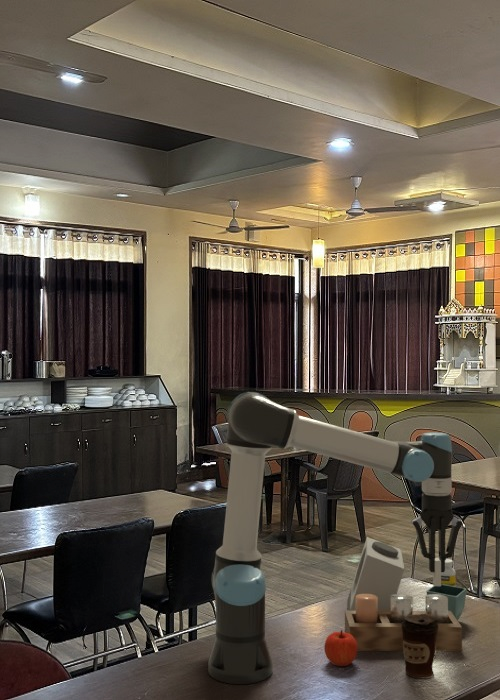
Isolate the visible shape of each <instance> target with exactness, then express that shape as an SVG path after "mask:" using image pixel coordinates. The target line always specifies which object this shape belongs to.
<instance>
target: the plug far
mask: <svg viewBox="0 0 500 700" xmlns="http://www.w3.org/2000/svg"><path fill="white" fill-rule="evenodd" d="M425 611H426V615H427V616H431V617H433V618H435V619H436V621H435V623H437V624H448V597H446V596H444V595H440V594H429V595H427V594H426V595H425Z"/></svg>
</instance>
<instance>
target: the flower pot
mask: <svg viewBox="0 0 500 700" xmlns="http://www.w3.org/2000/svg"><path fill="white" fill-rule="evenodd" d="M429 594H440V595H444V596H446V597H448V611H451V612H452V614H453V615H454V617H455V618H456V619H457V621H458V622H459V619H460V618H461V616H462V614H463V611H464V610H465V604H466V598H467V587H466V588H465V587H460V586H456V587H455V586H449V585H444V584H441V586H435V585H434V584H433V586H430V587H429V588H428V589H427V590H426V595H429Z"/></svg>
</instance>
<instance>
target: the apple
mask: <svg viewBox="0 0 500 700" xmlns="http://www.w3.org/2000/svg"><path fill="white" fill-rule="evenodd" d="M323 647H324V654H325V656H326V658H327V659H328V661H329V662H330V663H331V664H332V665H334V666H336V667H346V666H348V665H350V664H352V663H353V662H354V660H355V658H356V657H357V654H358V651H359V650H358V646H357V642H356V640H355V639H354V637H353V636H352V635H351V634H349V633H345V631H343V630H342V629H341V630H340V631H334V632H332V633H330V634H329V635H328V636H327V637H326V640H325V642H324V646H323Z"/></svg>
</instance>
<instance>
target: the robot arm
mask: <svg viewBox="0 0 500 700" xmlns="http://www.w3.org/2000/svg"><path fill="white" fill-rule="evenodd" d="M226 417H227V422H228V423H227V434H226V442H225V443H226V446H227V447H228V448H229V450H230V451H231V455H230V465H229V475H228V476H229V477H228V485H227V495H226V497H227V498H226V506H225V507H226V508H225V518H224V528H223V529H224V530H223V539H222V544H221V546H220V547H219V548H218V549H217V550H215V558H214V560H215V561H214V568H213V571H212V573H211V586H212V590H213V593H214V594H213V595H214V601H215V640H214V641H213V642H214V643H213V646H212V649H211V652H210V655H209V659H208V663H207V664H208V668H207V670H208V675H209V676H210V677H211V678H212V679H214V680H216V681H219V682H222V683H226V684H232V685H247V684H254V683H258V682H261V681H262V682H263V681H264V680H267V679H268V678H269V677H270V676H272V673H273V671H274V669H273V667H274V666H273V658H272V656H271V652H270V649H269V646H268V642H267V639H266V591H267V583H266V578H265V574H264V573H263V572H262V570H261V567H262V558H263V555H262V553H261V552H260V551H259V550H258V549H257V547H258V536H259V535H258V534H259V523H260V516H261V514H260V513H261V503H262V495H263V494H262V492H263V485H264V484H263V483H264V472H265V462H266V455H267V453H268V452H270V451H271V450H272V449H273V447H275V448H279V449H283V450H286V449H287V448H289V447H291V448H295V449H299V450H303V451H307V452H310V453H314V454H317V455H321V456H325V457H329V458H332V459H336V460H340V461H344V462H346V463H347V462H348V463H351V464H355V465H358V466H362V467H366V468H370V469H374V470H377V471H380V472H383V473H386V474H387V473H388V474H391V475H394V476H398V477H401V478H406V479H407V480H408V481H410V482H416V483H421V491H422V494H421V511H420V513H419V516H418V517H416V518H413V519H411V523H412V525H413V527H414V528H415V531H416V535H417V539H418V541H417V542H418V544H419V545H418V546H419V548H420V552H421V555H422V556H423V558H425V559H428V569H429V572H430V573H432V585H433V586H434V585H435V586H441V572H445V560H446V559H451V558H452V557H453V556H454V555H453V554H454V551H455V547H456V542H457V537H458V535H459V530H460V528H461V527H462V525H463V523H464V522H463V521H462V520H461V519H459V518H457V517H455V515H454V513H453V511H452V509H453V506H452V505H453V500H452V499H453V496H452V494H451V493H452V492H453V489H452V487H453V486H452V485H453V484H452V467H453V466H452V462H453V460H452V459H453V448H452V438H451V435H449V434H448V433H445V432H423V433H422V435H421V438H420V440H418V441H417V440H416V441H392V440H388V439H384V438H380V437H377V436H373V435H370V434H366V433H362V432H359V431H355V430H352V429H349V428H345V427H342V426H339V425H334V424H331V423H327V422H323V421H320V420H316V419H312V418H310V417H307V416H306V417H305V416H302V415H299V414H298V412H297V411H296V410H295V409H293V408H289V407H287V406H283V405H281V404H279V403H277V402H275V401H273V400H271V399H269V398H268V397H267V396H266V395H264V394H262V393H260V392H254V391H251V392H250V391H247V392H243V393H241V394H239V395H237V396H236V397H235V398H234V399H233V400H232V401H231V402H230V404H229V405H228V409H227V413H226ZM422 522H423V523H424V524H425V526H426V528H427V529H428V530H427V531H428V548H427V545H426V541H425V537H424V533H423V529H422V526H423V523H422ZM450 524H451V529H450V532H449V538H448V542H447V545H446V533H447V531H446V530H447V528H448V527H449V525H450ZM436 531H437V532H438V557H436Z"/></svg>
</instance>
